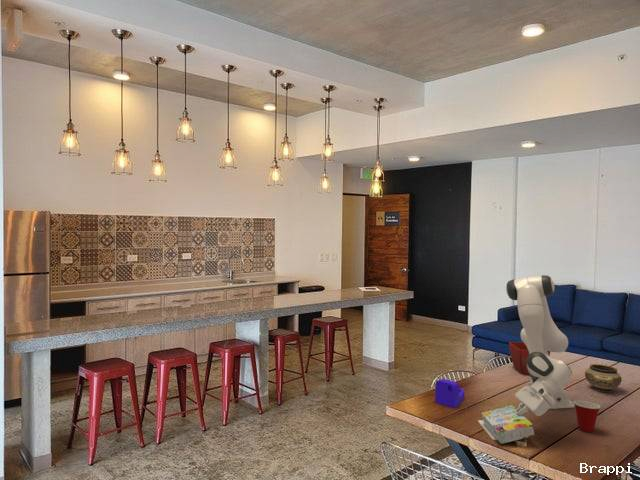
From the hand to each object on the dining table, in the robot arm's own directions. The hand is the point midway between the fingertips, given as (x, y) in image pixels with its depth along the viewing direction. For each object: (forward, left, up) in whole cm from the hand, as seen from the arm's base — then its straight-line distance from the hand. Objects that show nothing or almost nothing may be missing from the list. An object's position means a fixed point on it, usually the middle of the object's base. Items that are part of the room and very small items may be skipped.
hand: (518, 413), depth 209 cm
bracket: (+17, -40, -10) cm, 45 cm away
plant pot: (-45, -93, -10) cm, 104 cm away
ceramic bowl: (-74, -63, -10) cm, 97 cm away
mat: (+9, -4, -10) cm, 14 cm away
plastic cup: (-34, -7, -10) cm, 36 cm away
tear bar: (+2, 0, -10) cm, 10 cm away
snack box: (-3, 0, -3) cm, 4 cm away
